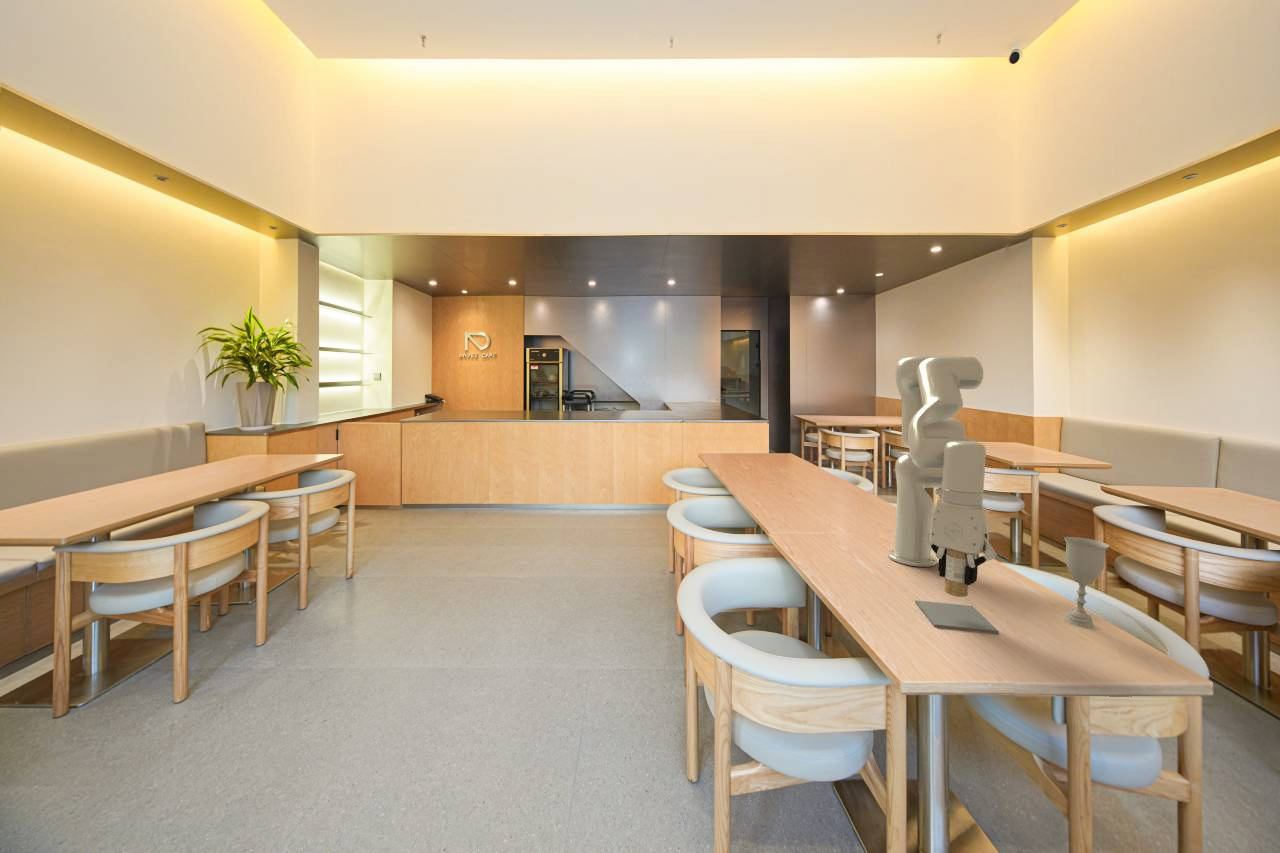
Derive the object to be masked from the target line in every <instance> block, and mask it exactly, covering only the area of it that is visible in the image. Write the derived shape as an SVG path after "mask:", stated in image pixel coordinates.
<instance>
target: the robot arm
mask: <svg viewBox="0 0 1280 853" xmlns="http://www.w3.org/2000/svg"><path fill="white" fill-rule="evenodd" d="M983 380H984V368H983V366H982V363H981V362H980V360H978V358H976V357H975V356H963V355H962V356H961V355H916V356H915V355H914V356H909V357H908V356H907V357H904V358H902V359H900V360H899V361H898V362H897V364H896V367H895V383H896V387H897V390H898V393H899V395H900V399H901V403H902V404H901V410H902V411H901V440H902V445H904V447H905V448H908V450H909V454H904V455H901V456H899V457H898V458H897V459H896V461H895V465H894V468H895V471H894V472H895V478H896V479H895V480H896V488H897V489H896V510H895V527H894V528H895V529H894V530H895V531H894V546H893V547H894V548H893V549H891V550H889V551H888V553H887V555H888V558H889V559H891V560H893V561H894V562H897V563H899V564H901V565H902V564H903V565H907V566H912V567H921V568H922V567H923V568H924V567H925V568H927V567H928V568H929V567H934V566H936V565H938V566H937V571H938V574H939V577H941V578H944V577H945V568H946V554H947V549H951V550H954V551H958V552H962V553H966V554H967V559H968V566H966V567H965V582H964V583H965V584H966V585H968V586H970V585H973V584H975V582H977V579H978V569H979V566H980V565H982V564H984V563H986V562H988V561H991V560H995V559H997V558H998V554H997V553H996V551H995V549H994V548H993V546H992V544H991V543H990V541H989V540H990V534H989V532H990V530H989V518H988V512H987V507H986V506H983V503H984V502H983V501H984V489H985V488H984V486H985V472H986V457H987V449H986V446H985V445H984V444H983V443H980V442H978V441H976V440H975V439H973V438H967V436H966V429H965V426H964V424H963V423H962V421H960V420H959V419H957V418H952V417H954V416H956V415H957V414H959V413H960V412H961V410H962V409H963V406H964V401H963V397H962V393H961V390H974V389H977V388H978V387H980V386H981V384H982V383H983ZM926 488H927V489H930V488H935V495H938V496H940V500H937V501H936V504H935V503H934V501H933V498H932V497H931V496H930V495H929V493H928V492H927V491H926V490H925V489H926ZM934 504H935V505H934ZM932 551H933V552H934V553H935V556H933V555H932ZM984 552H985V554H984V555H982V556H980V554H981V553H984Z"/></svg>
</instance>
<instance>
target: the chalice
mask: <svg viewBox="0 0 1280 853" xmlns="http://www.w3.org/2000/svg"><path fill="white" fill-rule="evenodd" d="M1063 540H1064V541H1065V543H1066V544H1065V545H1066V546H1065V547H1066V548H1065V556H1064V557H1065V559H1064V560H1065V563H1066V567H1067V569H1068V571H1069V573H1070V576H1071V577H1072V579H1073V581H1074V582H1076V583H1078V588H1077V590H1076V593H1077V595H1078V596H1077V598H1075V601H1076V604H1077V605H1076V608H1074V609H1070V610H1069V611H1068V612H1067V613H1066V614H1065V616H1064V617H1063V620H1064V622H1066V623H1068V624H1070V625H1073V626H1076V627H1080V628H1084V629H1085V628H1086V629H1094V628H1096V626H1094V625H1095V624H1094V622H1093V619H1092V616H1091V614H1089V613H1088V612H1087V611H1086V610H1084V606H1085V604H1086V603H1087V600H1085V596H1086V595H1087V592H1086V586H1089V585H1092V584H1093V583H1094V582H1095V581H1096V579H1097V578H1099V576H1101V573H1102V572H1103V571H1104V568H1105V559H1106V551H1107V550H1108V548H1109V547H1110V545H1109V544H1108V543H1105V542H1103V541H1099V540H1096V539H1090V538H1085V537H1077V536H1065V537H1063Z"/></svg>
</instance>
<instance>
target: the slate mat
mask: <svg viewBox="0 0 1280 853" xmlns="http://www.w3.org/2000/svg"><path fill="white" fill-rule="evenodd" d="M914 601H915V602H914V603H915V605H916V606H917V607H918V609H919V610H921V612H922V613H923V614H924V616H925V617H926V618H927V619H928V621H929V622H930V624H932V626H933V627H934V628H939V629H940V628H941V629H949V630H957V631H968V632H979V633H987V634H997V635H998V634H999V629H997V628H996V627H995V626H994V625H993V624H992V623H991V622H990V621H989V620H988V619H987V618H986V617H985V616H983V614H982V613H981V612H980V611H978V610H977V609H976V607H974V606H973V605H968V604H967V605H966V604H957V603H947V602H935V601H927V600H917V599H916V600H914Z"/></svg>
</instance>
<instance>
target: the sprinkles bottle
mask: <svg viewBox="0 0 1280 853" xmlns="http://www.w3.org/2000/svg"><path fill="white" fill-rule="evenodd" d="M966 566H968V559H967V554H966V553H962V552H958V551H954V550H951V549H947V554H946V568H945V576H944V577H945V579H944V588H943V590H944V592H945V593H946V594H948V595H950V596H954V597H957V598H965V597H968V596H969V592H968V591H969V585H966V584H965V583H964V582H965V567H966Z"/></svg>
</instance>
